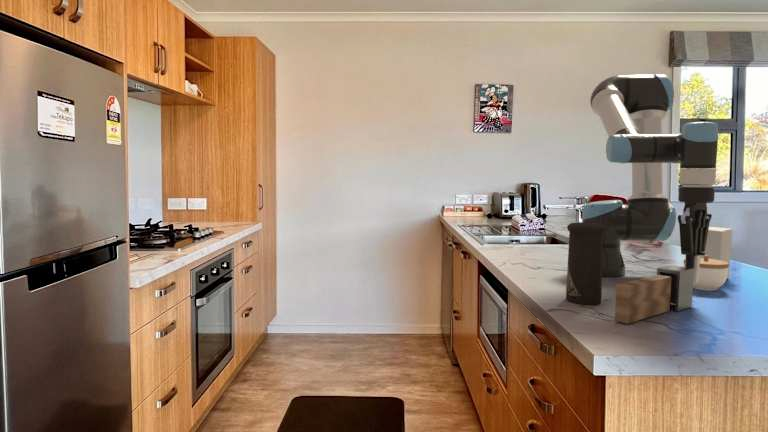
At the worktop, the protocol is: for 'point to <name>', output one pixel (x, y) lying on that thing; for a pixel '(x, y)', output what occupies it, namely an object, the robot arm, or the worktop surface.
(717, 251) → the skincare box
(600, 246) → the container
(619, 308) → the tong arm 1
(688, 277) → the grey angled block
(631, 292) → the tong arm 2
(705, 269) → the lidded jar
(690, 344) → the worktop surface
